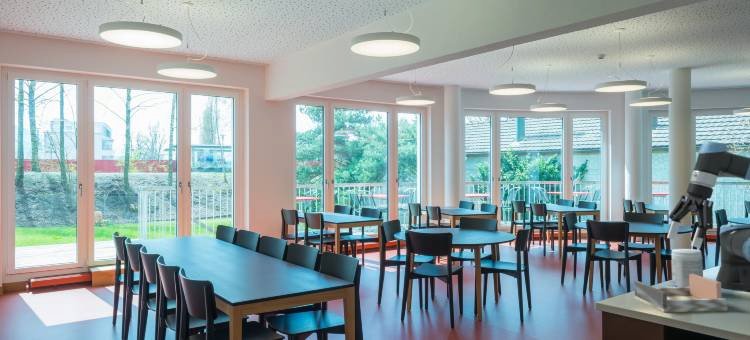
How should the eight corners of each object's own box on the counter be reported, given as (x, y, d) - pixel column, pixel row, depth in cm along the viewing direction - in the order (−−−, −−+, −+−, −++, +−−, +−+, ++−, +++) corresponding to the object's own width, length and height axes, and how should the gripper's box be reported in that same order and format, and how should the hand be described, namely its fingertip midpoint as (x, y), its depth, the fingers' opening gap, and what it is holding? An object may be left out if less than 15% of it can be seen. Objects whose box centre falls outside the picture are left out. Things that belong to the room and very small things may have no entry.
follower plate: (694, 294, 177) (693, 273, 177) (721, 304, 163) (721, 282, 163) (689, 294, 177) (689, 273, 177) (717, 304, 163) (716, 282, 163)
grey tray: (692, 296, 179) (691, 279, 179) (727, 310, 161) (726, 291, 161) (634, 298, 178) (634, 281, 178) (663, 312, 161) (663, 293, 161)
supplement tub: (708, 291, 185) (707, 250, 185) (695, 295, 180) (694, 253, 180) (680, 286, 193) (679, 247, 193) (667, 290, 188) (666, 250, 188)
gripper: (669, 179, 193) (652, 233, 194) (716, 185, 168) (696, 247, 169) (688, 184, 194) (671, 238, 195) (737, 192, 169) (717, 253, 170)
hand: (682, 242), depth 182 cm, fingers open, 13 cm apart
